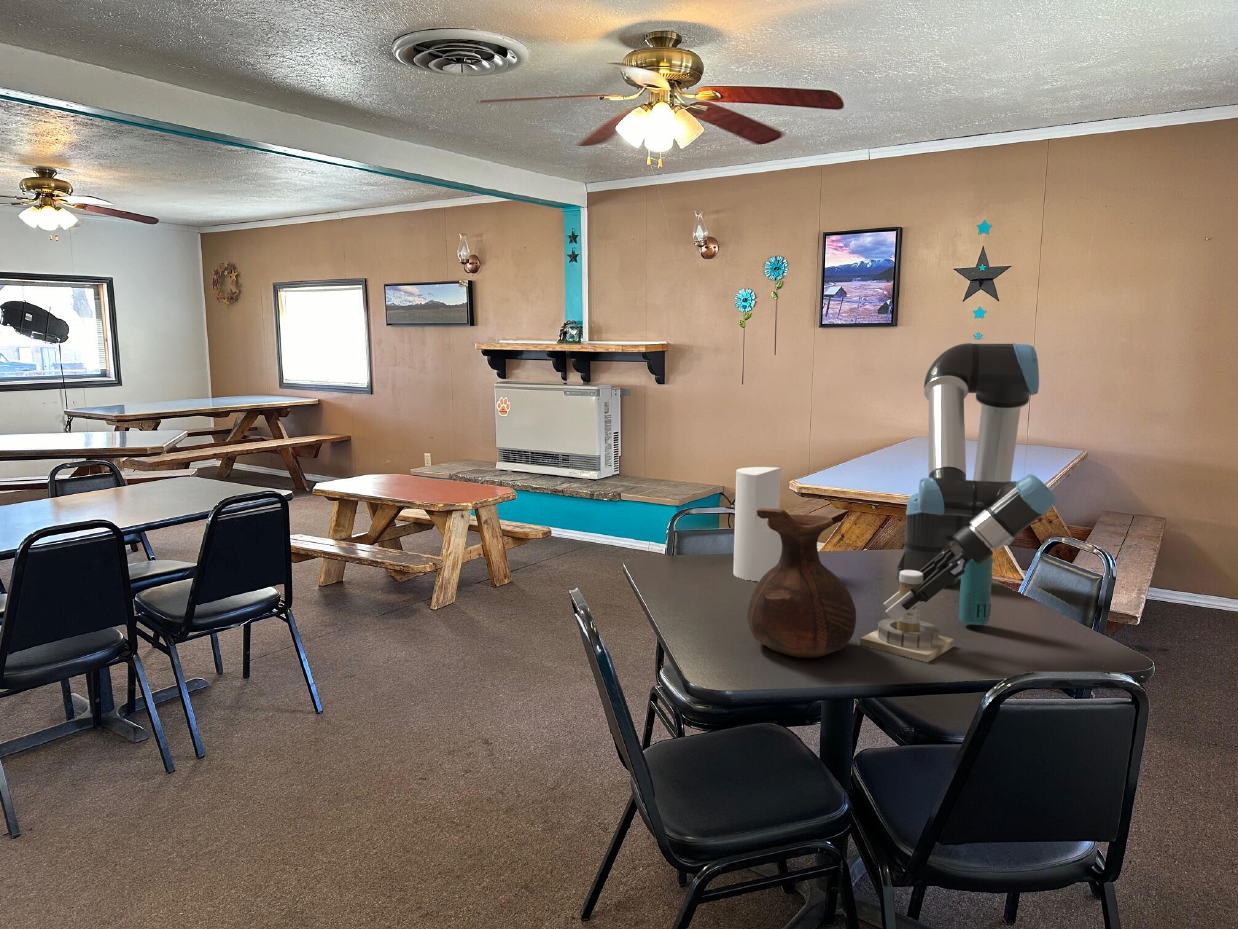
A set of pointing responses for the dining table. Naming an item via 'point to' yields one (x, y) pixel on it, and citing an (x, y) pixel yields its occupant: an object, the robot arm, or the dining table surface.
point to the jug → (800, 593)
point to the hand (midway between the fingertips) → (889, 612)
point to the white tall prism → (755, 522)
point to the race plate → (909, 651)
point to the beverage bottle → (976, 592)
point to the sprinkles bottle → (906, 582)
